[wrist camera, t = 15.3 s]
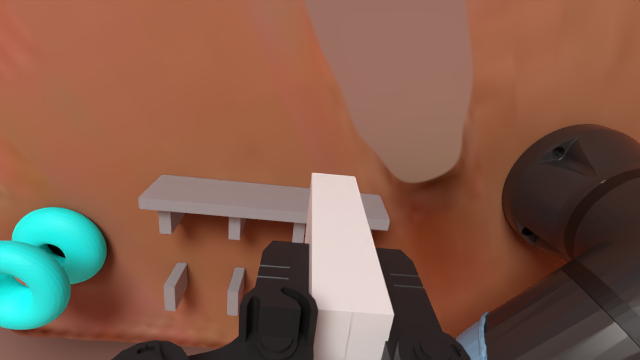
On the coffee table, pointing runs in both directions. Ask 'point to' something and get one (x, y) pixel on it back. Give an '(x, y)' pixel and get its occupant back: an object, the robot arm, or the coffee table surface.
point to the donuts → (46, 265)
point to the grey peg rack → (234, 217)
